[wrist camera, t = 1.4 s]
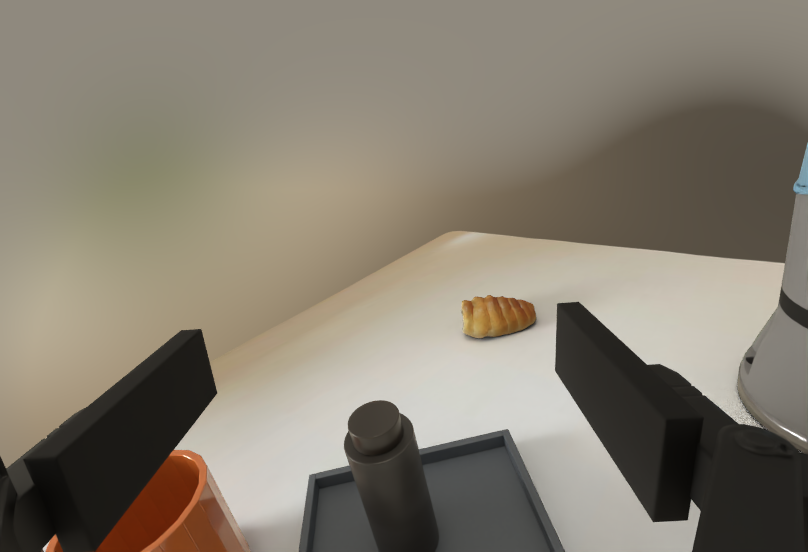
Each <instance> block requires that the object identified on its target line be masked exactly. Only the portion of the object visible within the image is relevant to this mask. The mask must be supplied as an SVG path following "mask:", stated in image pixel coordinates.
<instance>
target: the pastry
mask: <svg viewBox="0 0 808 552" xmlns="http://www.w3.org/2000/svg"><path fill="white" fill-rule="evenodd" d="M461 312H462V315H463V318H464V320H463V324H464V328H463V329H462V330H463V333H465V334H467V335H469V336H472V337H474V338H483V337H485V336H491V337H496V336H501V335H503V334H510V333H513V332H514V333H515V332H517V331H521V330H523V329H525V328H527V327H528V326H529V325H532V324H533V323H534V322H535V320H536V313H535V310H534V305H533V304H531V303H529V302H526V301H524V300H516V299H515V298H505V297H503V296H501V297H493V296H491V295H488V296H487V297H485V298H482V297H474V298H473V300H472V301H467V300H464V301H462V311H461Z"/></svg>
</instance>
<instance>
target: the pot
mask: <svg viewBox="0 0 808 552" xmlns="http://www.w3.org/2000/svg"><path fill="white" fill-rule="evenodd" d="M46 552H63V550H62V548H61V545H60V543H59V541H58V539H57V536H56V534H55V535H54V536H53V537H52V539H51V540H50V542H49V544H48V547H47V549H46ZM95 552H251V551H250V549H249V546H248V544H247V542H246V540H245V538H244V536H243V534H242V532H241V530H240V528H239V527H238V525H237V523H236V521H235V519H234V517H233V515H232V513H231V511H230V509H229V507H228V505H227V503H226V501H225V500H224V498H223V496H222V494H221V492H220V490H219V488H218V486H217V484H216V482H215V480H214V478H213V476H212V475H211V473H210V471H209V469H208V467H207V465H206V463H205V462H204V460H203V458H202V457H201V456H200V455H198V454H196V453H194V452H192V451H190V450H173V451H172V453H171V454H170V455H169V456H168V458H167V459H166V460H165V462H164V463H163V464H162V465H161V467H160V468H159V469H158V471H157V472H156V473H155V475H154V476H153V477H152V478H151V480H150V481H149V482H148V484H147V485H146V486H145V487H144V489H143V490H142V491H141V493H140V494H139V495H138V497H137V498H136V499H135V500H134V502H133V503H132V504H131V506H130V507H129V508H128V510H127V511H126V512H125V513H124V515H123V516H122V517H121V519H120V520H119V521H118V522H117V524H116V525H115V526H114V528H113V529H112V530H111V532H110V533H109V534H108V535H107V537H106V538H105V539H104V541H103V542H102V543H101V544H100V546H99V547H98V548H97V550H96V551H95Z"/></svg>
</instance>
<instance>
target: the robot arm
mask: <svg viewBox="0 0 808 552" xmlns="http://www.w3.org/2000/svg"><path fill="white" fill-rule="evenodd" d="M794 191H795V193H796V200H795V206H794V212H793V219H792V224H791V231H790V237H789V244H788V249H787V256H786V262H785V268H784V274H783V280H782V287H781V293H780V299H779V304H778V307H777V309H776V310H775V312H774V313H773V315H772V316H771V317H770V319H769V320H768V322H767V323H766V325H765V326H764V327H763V329H762V330H761V332H760V333H759V335H758V336H757V338H756V339H755V341H754V342H753V344H752V346H751V347H750V348H749V349H748V350H747V352H746V353H745V355H744V357H743V360H742V362H741V364H740V367H739V374H738V382H737V388H738V393H739V396H740V398H741V400H742V402H743V404H744V405H745V407H746V408H747V410H748V411H749V412H750V413H751V414H752V416H753V417H754V418H755V419H756V420H757V421H758V422H759V423H760V424H762V425H763V426H764V427H765V428H766V429H768V430H769V431H767V430H765V429H762V428H759V427H754V426H749V425H745V424H738V423H737V422H735V421H734V420H733V419H732V418H731V417H730V416H728V415H727V414H726V413H725V412H724V411H722V410H721V409H720V408H719V407H718V406H717V405H715V404H714V403H713V402H712V401H711V400H709V399H708V398H707V397H706V396H703V395H702V393H701V392H700V391H699V390H698V389H696V388H695V387H694V386H691V383H689V382H688V381H687V380H686V379H685V378H683V377H682V376H681V375H680V374H679V373H677V372H675V371H673V370H671V369H669V368H667V367H665V366H663V365H660V364H655V365H647V364H646V363H644V362H643V361H642V360H641V359H640V358H639V357H638V356H637V355H636V354H635V353H634V352H633V351H631V350H630V349H629V348H628V347H627V346H626V345H625V344H624V343H623V342H622V341H621V340H619V339H618V338H617V337H616V336H615V335H614V334H613V333H612V332H611V331H610V330H609V329H608V328H606V327H605V326H604V325H603V324H602V323H601V322H600V321H599V320H598V319H597V318H596V317H595V316H593V315H592V314H591V313H590V312H589V311H588V310H587V309H586V308H585V307H584V306H583V305H582V304H580V303H579V302H571V303H558V304H557V330H556V362H555V371H556V373H557V374H558V376H559V377H560V379H561V381H562V382H563V384H564V385H565V387H566V388H567V390H568V391H569V393H570V394H571V396H572V397H573V399H574V401H575V402H576V404H577V405H578V407H579V408H580V410H581V411H582V413H583V414H584V416H585V418H586V419H587V421H588V422H589V424H590V425H591V427H592V428H593V430H594V431H595V433H596V434H597V436H598V438H599V439H600V441H601V442H602V444H603V445H604V447H605V448H606V450H607V451H608V453H609V454H610V456H611V458H612V459H613V461H614V462H615V464H616V465H617V467H618V468H619V470H620V471H621V473H622V475H623V476H624V478H625V479H626V481H627V482H628V484H629V485H630V487H631V488H632V490H633V491H634V493H635V495H636V496H637V498H638V499H639V501H640V502H641V504H642V505H643V507H644V508H645V510H646V511H647V513H648V515H649V516H650V518H651V519H652V521H653V522H664V521H683V520H688V515H689V509H690V502H691V499H692V500H693V502H694V503H695V504H696V505H697V507H698V508H699V509H700V510H701V513H700V518H699V522H698V527H697V532H696V536H695V541H694V545H693V550H692V552H808V144H807V148H806V152H805V156H804V160H803V164H802V168H801V172H800V176H799V179H798V180H797V181H796V183H795V184H794ZM216 394H217V390H216V386H215V382H214V378H213V374H212V370H211V366H210V362H209V358H208V354H207V350H206V347H205V342H204V338H203V334H202V330H201V329H196V330H181V331H180V332H179V333H178V334H176V335H175V336H174V337H172V338H171V339H170V340H169V341H168V342H166V343H165V344H164V345H163V346H161V347H160V348H159V349H158V350H157V351H155V352H154V353H153V354H152V355H150V356H149V357H148V358H147V359H146V360H144V361H143V362H142V363H141V364H139V365H138V366H137V367H136V368H135V369H133V370H132V371H131V372H130V373H128V374H127V375H126V376H125V377H123V378H122V379H121V380H120V381H119V382H117V383H116V384H115V385H114V386H112V387H111V388H110V389H109V390H107V391H106V392H105V393H104V394H103V395H101V396H100V397H99V398H98V399H96V400H95V401H94V402H93V403H91V404H90V405H89V406H88V407H86V408H84V409H82V410H80V411H79V412H77V413H75V414H74V415H72V416H71V417H70V418H69V419H68V420H66V421H65V422H64V423H63V424H61V425H60V426H59V428H57V429H55V430H54V431H53V432H51V433H50V434H49V435H48V436H47V438H46V439H43V440H41V441H40V442H39V443H38V444H36V445H35V446H34V447H33V448H31V449H30V450H29V451H28V452H26V453H25V454H24V455H23V456H21V457H20V458H19V459H18V460H17V461H15V462H14V463H13V464H12V465H11V466H9V467H8V468H5V466H4V463H3V461H2V459H1V457H0V552H44V551H43V549H42V548H43V547H44V546H45V545H46V544H47V543H48V542H49V541H50V540H51V539H52V537H53V536H54V535H55V534H56V536H57V539H58V541H59V543H60V545H61V548H62V550H63V552H95V551H96V550H97V548H98V547H99V546H100V544H101V543H102V542H103V541H104V539H105V538H106V537H107V535H108V534H109V533H110V532H111V530H112V529H113V528H114V526H115V525H116V524H117V522H118V521H119V520H120V519H121V517H122V516H123V515H124V513H125V512H126V511H127V510H128V508H129V507H130V506H131V504H132V503H133V502H134V500H135V499H136V498H137V497H138V495H139V494H140V493H141V491H142V490H143V489H144V487H145V486H146V485H147V484H148V482H149V481H150V480H151V478H152V477H153V476H154V475H155V473H156V472H157V471H158V469H159V468H160V467H161V465H162V464H163V463H164V462H165V460H166V459H167V458H168V456H169V455H170V454H171V453H172V451H173V450H174V449H175V447H176V446H177V445H178V443H179V442H180V441H181V440H182V438H183V437H184V436H185V434H186V433H187V432H188V430H189V429H190V428H191V427H192V425H193V424H194V423H195V421H196V420H197V419H198V418H199V416H200V415H201V414H202V412H203V411H204V410H205V408H206V407H207V406H208V405H209V403H210V402H211V401H212V399H213V398H214V397H215V396H216ZM797 449H798V450H800V451H801V452H803V453H805V454H803V453H799V452H798V450H797Z"/></svg>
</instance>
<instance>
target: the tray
mask: <svg viewBox="0 0 808 552" xmlns="http://www.w3.org/2000/svg"><path fill="white" fill-rule="evenodd" d="M419 453H420V457H421V461H422V465H423V469H424V474H425V478H426V482H427V486H428V490H429V494H430V498H431V502H432V506H433V510H434V514H435V518H436V522H437V526H438V530H439V541H438V545H437V548H436V550H435V552H565V551H564V549H563V547H562V544H561V542H560V540H559V538H558V536H557V534H556V531H555V529H554V527H553V525H552V523H551V521H550V519H549V516H548V514H547V512H546V510H545V508H544V506H543V503H542V501H541V499H540V497H539V495H538V493H537V491H536V488H535V486H534V484H533V482H532V480H531V478H530V475H529V473H528V471H527V469H526V467H525V465H524V462H523V460H522V458H521V456H520V454H519V452H518V450H517V447H516V445H515V443H514V441H513V439H512V437H511V434H510V432H509V430H508V429H506V430H502V431H497V432H493V433H488V434H484V435H480V436H475V437H471V438H467V439H462V440H458V441H454V442H449V443H445V444H441V445H436V446H432V447H428V448H423V449H419ZM299 552H379V550H378V547H377V545H376V542H375V539H374V536H373V533H372V530H371V527H370V524H369V521H368V518H367V515H366V512H365V509H364V506H363V503H362V500H361V497H360V494H359V491H358V489H357V486H356V483H355V480H354V477H353V474H352V471H351V468H350V466H346V467H341V468H337V469H333V470H329V471H324V472H320V473H316V474H312V475H309V481H308V489H307V496H306V503H305V510H304V517H303V524H302V531H301V538H300V545H299Z"/></svg>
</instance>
